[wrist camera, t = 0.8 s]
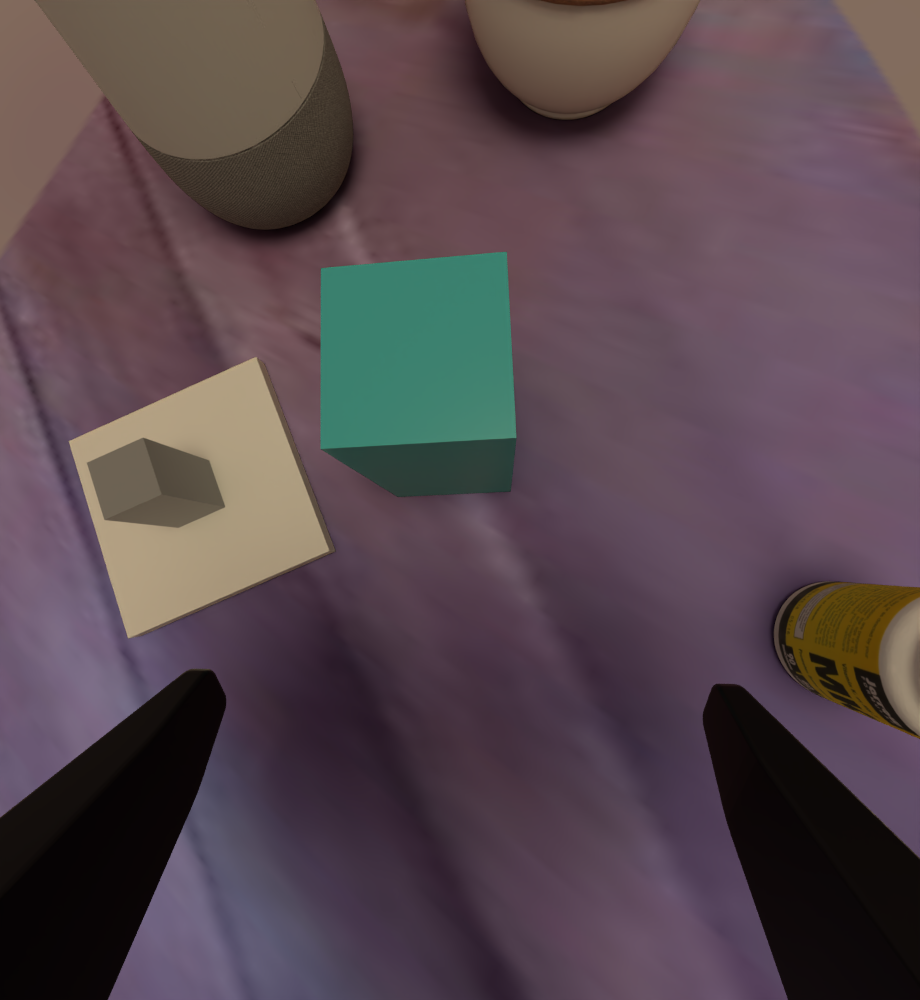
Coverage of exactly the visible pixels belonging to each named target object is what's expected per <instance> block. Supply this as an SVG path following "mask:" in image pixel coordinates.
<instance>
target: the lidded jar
mask: <svg viewBox="0 0 920 1000" xmlns="http://www.w3.org/2000/svg"><path fill="white" fill-rule="evenodd" d="M699 2H700V0H465V5H466V9H467V13H468V16H469V20H470V23H471V27H472V30H473V33H474V36H475V39H476V42H477V44H478V46H479V49H480V51H481V53H482V55H483V57H484V59H485V61H486V62H487V64H488V66H489V68H490V69H491V70H492V72H493V73H494V75H495V76H496V77H497V78H498V80H499V81H500V82H501V83H502V85H503V86H504V87H505V88H507V89H508V90H509V91H510V92H511V93H512V94H513V95H515V96H516V97H517V98H519V99H520V100H521V102H522V103H523V104H524V105H526V106H527V107H528V108H529V109H531V110H532V111H534V112H536V113H538V114H540V115H542V116H545V117H549V118H553V119H560V120H573V119H579V118H584V117H587V116H590V115H593V114H595V113H597V112H599V111H601V110H603V109H604V108H606V107H607V106H609V105H610V104H611V103H613V102H615V101H617V100H618V99H620V98H622V97H624V96H625V95H627V94H628V93H630V92H631V91H633V90H634V89H635V88H636V87H637V86H639V85H640V84H641V83H642V82H643V81H644V80H645V79H646V78H647V77H649V76H650V75H651V74H652V73H653V72H654V71H655V70H656V69H657V67H658V66H659V65H660V64H661V62H662V61H663V60H664V59H665V58H666V56H667V55H668V54H669V52H670V51H671V50H672V49H673V47H674V46H675V45H676V43H677V41H678V40H679V38H680V36H681V34H682V33H683V31H684V29H685V27H686V26H687V24H688V22H689V21H690V19H691V17H692V15H693V14H694V12H695V10H696V8H697V6H698V4H699Z"/></svg>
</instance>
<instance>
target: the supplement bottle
mask: <svg viewBox="0 0 920 1000" xmlns="http://www.w3.org/2000/svg"><path fill="white" fill-rule="evenodd" d="M774 643H775V648H776V651H777V654H778V657H779V659H780V661H781V663H782V665H783V666H784V668H785V669H786V671H787V672H788V673H789V674H790V676H791V677H792V678H793V679H794V680H795V681H796V682H798V683H799V684H800V685H801V686H803V687H804V688H806V689H807V690H809V691H811V692H813V693H815V694H817V695H819V696H821V697H824V698H826V699H828V700H830V701H832V702H835V703H837V704H839V705H842V706H844V707H846V708H849V709H851V710H853V711H856V712H858V713H861V714H863V715H865V716H867V717H870V718H872V719H874V720H877V721H879V722H881V723H884V724H886V725H889V726H891V727H893V728H896V729H898V730H900V731H903V732H905V733H907V734H909V735H911V736H914V737H917V738H919V739H920V588H919V587H902V586H888V585H875V584H861V583H849V582H819V583H814V584H811V585H808V586H805V587H803V588H801V589H799V590H798V591H796V592H795V593H793V594H792V595H791V596H790V597H789V598H788V599H787V600H786V601H785V603H784V604H783V605H782V607H781V609H780V611H779V613H778V615H777V618H776V622H775V627H774Z"/></svg>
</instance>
